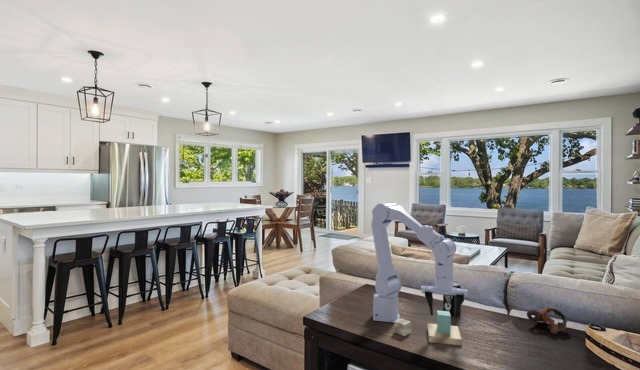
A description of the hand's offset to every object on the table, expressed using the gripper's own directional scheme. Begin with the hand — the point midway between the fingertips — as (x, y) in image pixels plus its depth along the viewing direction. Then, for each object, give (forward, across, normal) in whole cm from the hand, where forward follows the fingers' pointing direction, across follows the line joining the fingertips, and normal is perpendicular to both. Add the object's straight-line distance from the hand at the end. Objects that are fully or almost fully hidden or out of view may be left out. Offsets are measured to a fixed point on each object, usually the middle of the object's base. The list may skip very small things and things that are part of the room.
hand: (443, 315), depth 116 cm
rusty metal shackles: (+7, +36, +16) cm, 40 cm away
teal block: (+5, 0, 0) cm, 5 cm away
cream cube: (+8, -13, 0) cm, 15 cm away
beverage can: (+8, +5, +22) cm, 24 cm away
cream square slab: (+7, 0, 0) cm, 7 cm away
